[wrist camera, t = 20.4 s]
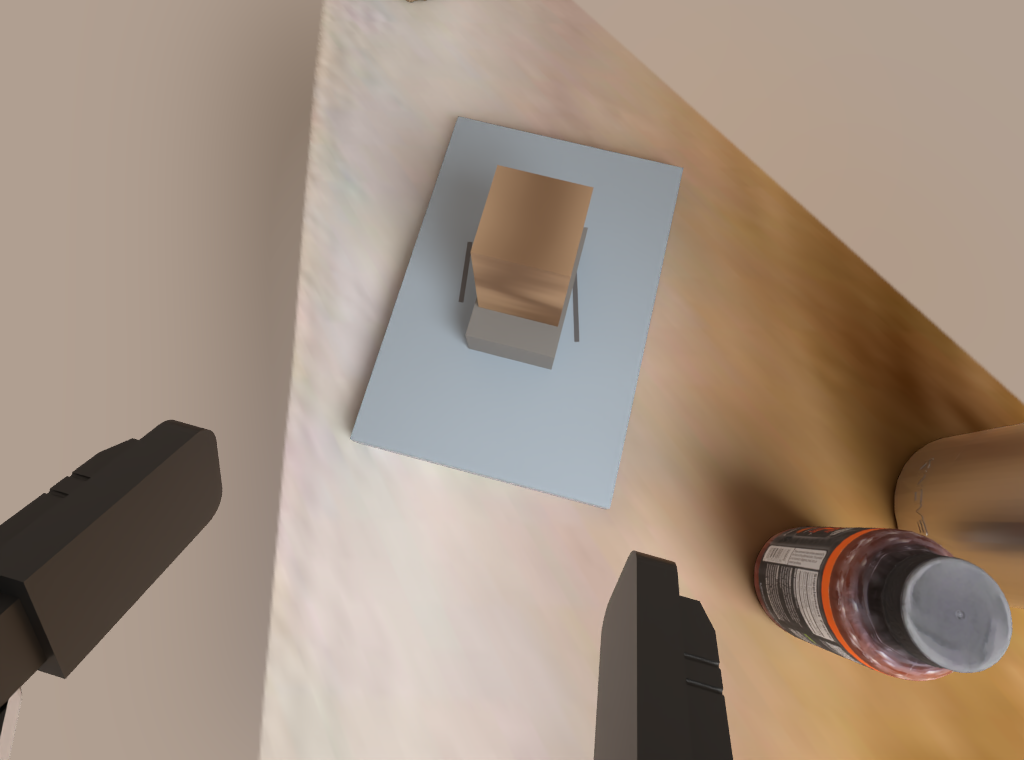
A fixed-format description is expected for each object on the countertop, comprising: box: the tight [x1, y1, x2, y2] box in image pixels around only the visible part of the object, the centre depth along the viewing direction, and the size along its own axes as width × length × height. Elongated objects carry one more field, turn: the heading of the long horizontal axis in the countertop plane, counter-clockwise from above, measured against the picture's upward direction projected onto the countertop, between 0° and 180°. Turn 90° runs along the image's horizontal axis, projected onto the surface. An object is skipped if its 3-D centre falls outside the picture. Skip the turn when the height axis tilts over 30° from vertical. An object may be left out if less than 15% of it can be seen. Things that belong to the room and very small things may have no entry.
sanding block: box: [465, 165, 594, 370], centre depth 29 cm, size 5×8×9 cm, turn 165°
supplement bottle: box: [754, 526, 1012, 681], centre depth 26 cm, size 6×6×11 cm
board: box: [350, 116, 683, 509], centre depth 34 cm, size 15×22×2 cm
